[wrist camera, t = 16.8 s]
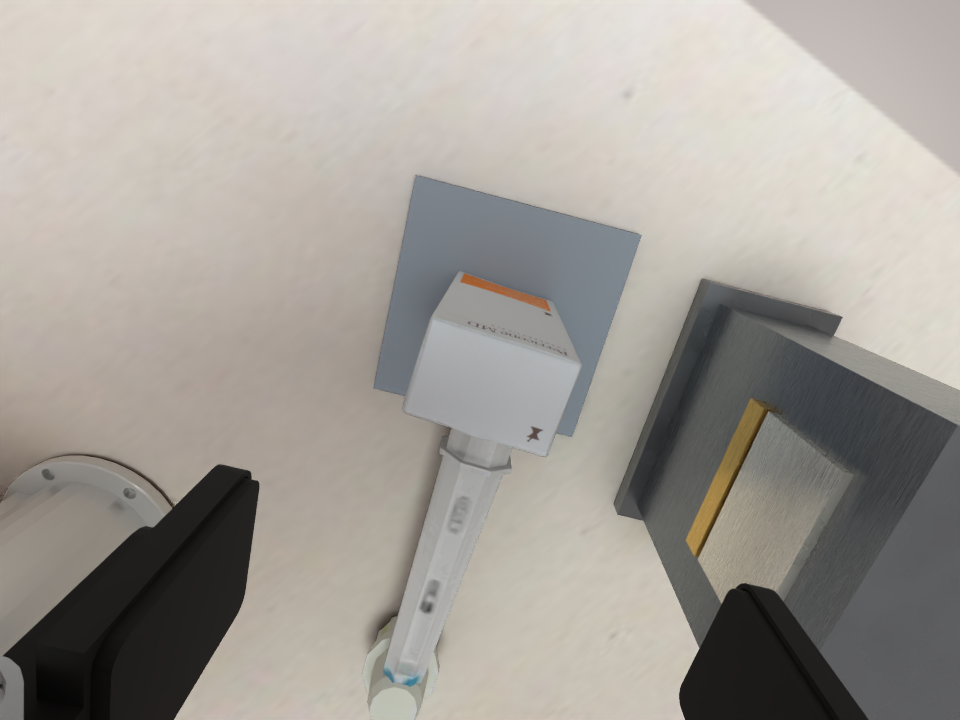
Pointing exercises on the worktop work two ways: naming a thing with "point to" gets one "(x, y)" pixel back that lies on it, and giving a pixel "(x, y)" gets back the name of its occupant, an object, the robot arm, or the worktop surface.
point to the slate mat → (503, 273)
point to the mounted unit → (810, 493)
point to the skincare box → (494, 366)
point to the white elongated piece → (434, 576)
